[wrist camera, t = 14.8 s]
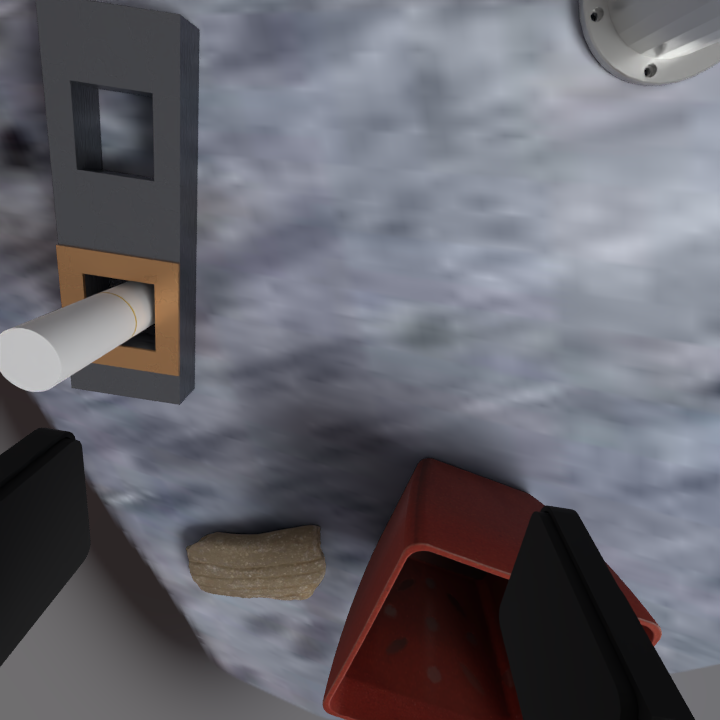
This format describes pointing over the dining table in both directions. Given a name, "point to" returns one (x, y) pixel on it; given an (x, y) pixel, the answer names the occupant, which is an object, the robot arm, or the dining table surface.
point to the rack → (126, 182)
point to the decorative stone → (259, 563)
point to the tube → (74, 335)
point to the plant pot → (438, 605)
